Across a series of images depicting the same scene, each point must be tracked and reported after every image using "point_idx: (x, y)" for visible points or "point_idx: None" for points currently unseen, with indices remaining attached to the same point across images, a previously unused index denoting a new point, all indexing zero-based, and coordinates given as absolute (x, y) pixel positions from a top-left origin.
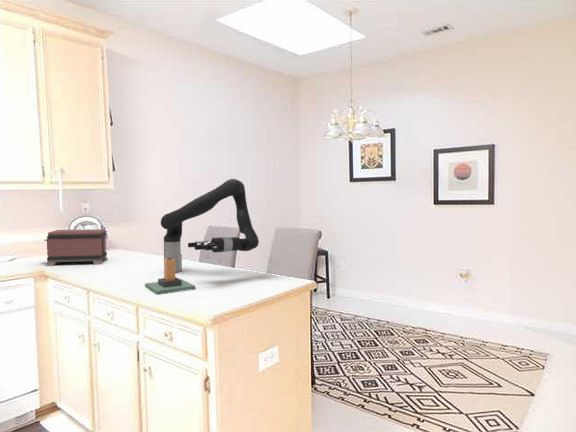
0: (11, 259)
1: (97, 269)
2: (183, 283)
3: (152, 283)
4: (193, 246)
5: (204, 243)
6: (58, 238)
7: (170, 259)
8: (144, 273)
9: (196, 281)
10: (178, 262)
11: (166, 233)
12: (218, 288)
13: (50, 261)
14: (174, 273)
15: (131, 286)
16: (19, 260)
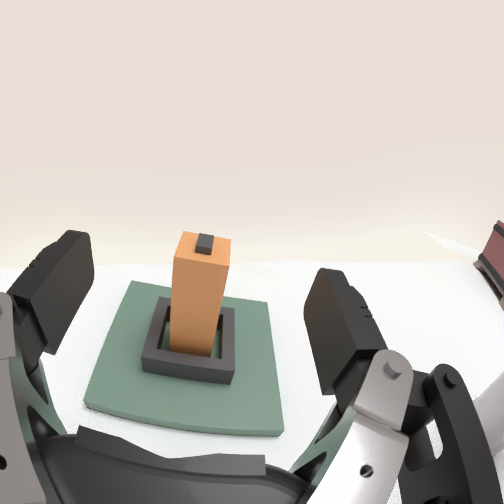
0: None
1: (471, 297)
2: (172, 395)
3: (253, 316)
4: (320, 360)
5: (151, 472)
6: (500, 233)
7: (195, 246)
8: (451, 357)
9: None
10: (498, 427)
11: None
12: None
13: (479, 261)
14: (170, 317)
15: (286, 290)
16: None
